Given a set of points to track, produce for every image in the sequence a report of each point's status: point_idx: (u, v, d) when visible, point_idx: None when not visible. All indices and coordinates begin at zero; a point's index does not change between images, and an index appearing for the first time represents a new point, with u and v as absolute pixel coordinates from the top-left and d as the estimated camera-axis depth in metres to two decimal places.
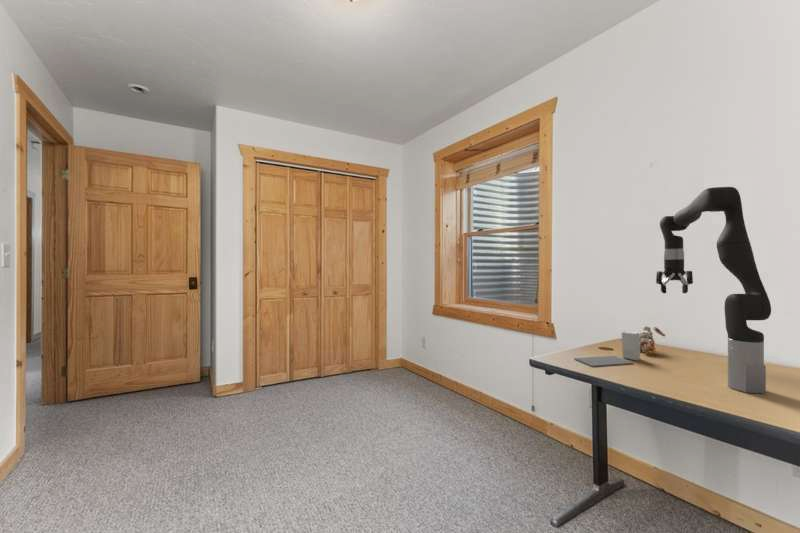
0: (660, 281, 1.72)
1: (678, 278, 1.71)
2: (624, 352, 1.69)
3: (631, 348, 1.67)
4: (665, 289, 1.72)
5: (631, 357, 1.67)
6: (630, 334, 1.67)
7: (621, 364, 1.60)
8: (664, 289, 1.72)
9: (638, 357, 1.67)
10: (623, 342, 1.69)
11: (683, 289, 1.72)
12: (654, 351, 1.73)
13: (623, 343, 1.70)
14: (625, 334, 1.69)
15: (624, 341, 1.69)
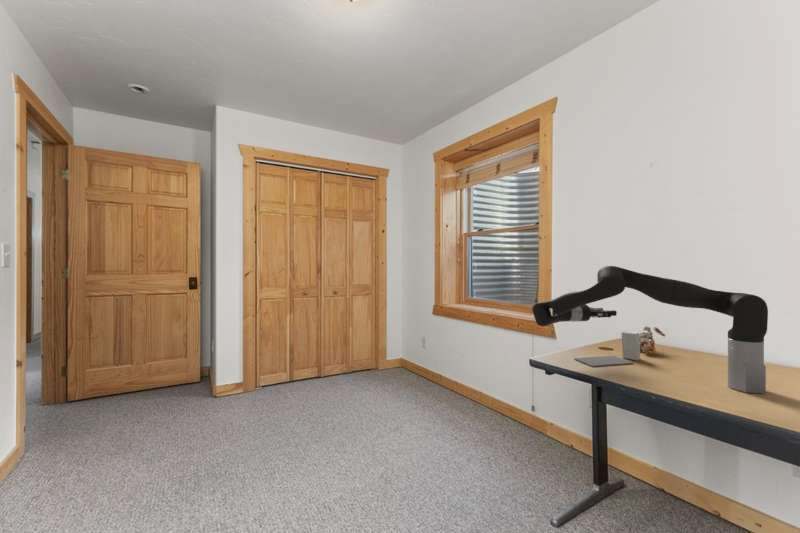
0: (607, 311, 1.60)
1: None
2: (624, 352, 1.69)
3: (631, 348, 1.67)
4: None
5: (631, 357, 1.67)
6: (630, 334, 1.67)
7: (621, 364, 1.60)
8: None
9: (638, 357, 1.67)
10: (623, 342, 1.69)
11: None
12: (654, 351, 1.73)
13: (623, 343, 1.70)
14: (625, 334, 1.69)
15: (624, 341, 1.69)
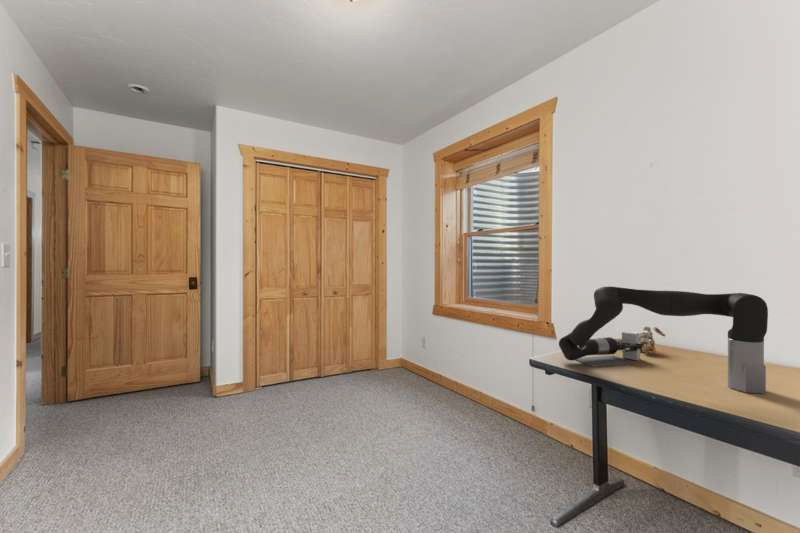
0: (634, 345, 1.63)
1: None
2: (624, 352, 1.69)
3: None
4: None
5: (631, 357, 1.67)
6: (630, 334, 1.67)
7: (621, 364, 1.60)
8: (638, 344, 1.65)
9: (638, 357, 1.67)
10: None
11: None
12: (654, 351, 1.73)
13: None
14: (625, 334, 1.69)
15: (624, 341, 1.69)
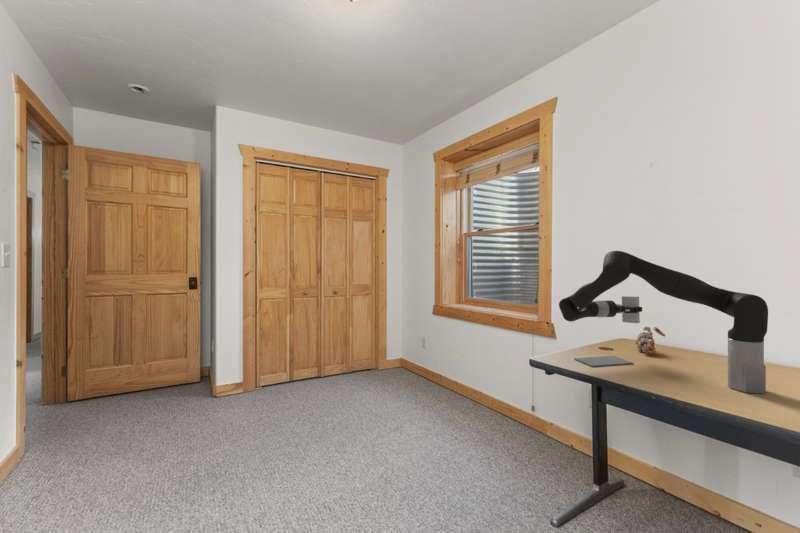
0: (634, 307, 1.62)
1: None
2: (624, 316, 1.69)
3: None
4: None
5: (631, 320, 1.67)
6: (630, 297, 1.67)
7: (621, 364, 1.60)
8: (638, 307, 1.65)
9: (638, 320, 1.66)
10: None
11: None
12: (654, 351, 1.73)
13: None
14: (625, 298, 1.68)
15: None
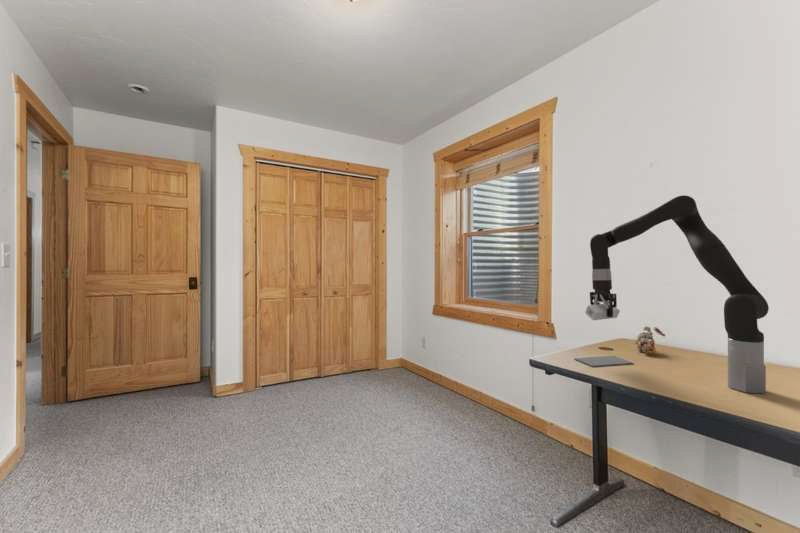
0: None
1: None
2: (594, 305, 1.64)
3: (603, 309, 1.62)
4: None
5: (594, 309, 1.61)
6: (615, 307, 1.63)
7: (621, 364, 1.60)
8: None
9: (596, 316, 1.61)
10: (603, 304, 1.65)
11: None
12: (654, 351, 1.73)
13: (602, 304, 1.65)
14: None
15: (604, 304, 1.65)
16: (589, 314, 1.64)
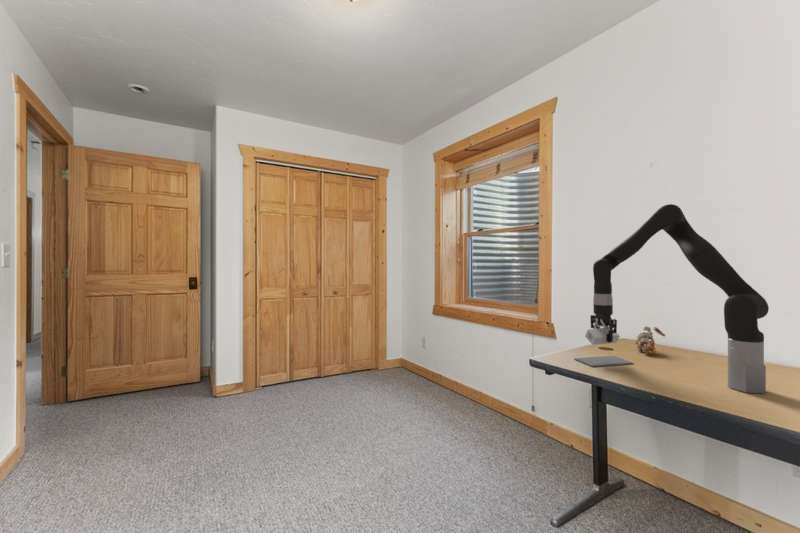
0: None
1: None
2: (594, 330, 1.65)
3: (603, 333, 1.63)
4: None
5: (594, 334, 1.62)
6: None
7: (621, 364, 1.60)
8: None
9: (596, 341, 1.61)
10: (603, 328, 1.66)
11: None
12: (654, 351, 1.73)
13: (602, 328, 1.66)
14: None
15: (604, 329, 1.66)
16: (589, 338, 1.64)
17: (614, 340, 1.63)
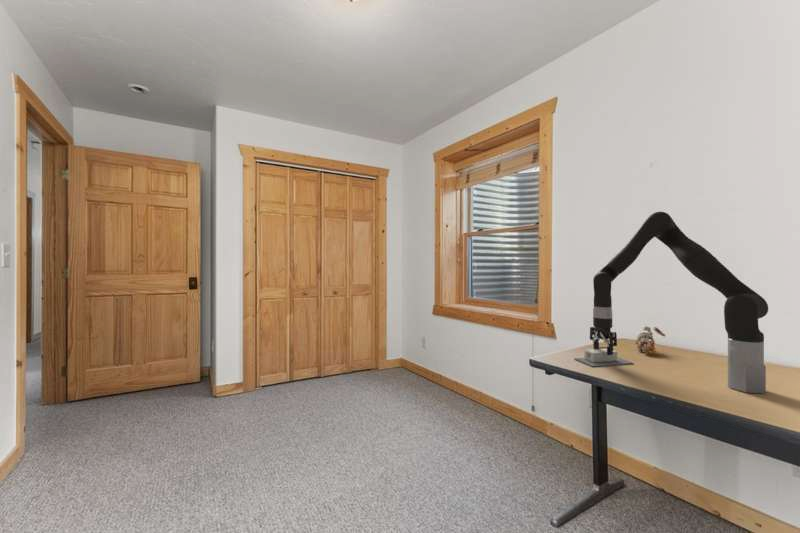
0: None
1: None
2: (591, 349, 1.67)
3: (600, 351, 1.65)
4: None
5: (592, 351, 1.64)
6: None
7: (621, 364, 1.60)
8: None
9: (595, 357, 1.62)
10: (600, 349, 1.68)
11: (596, 346, 1.69)
12: (654, 351, 1.73)
13: (599, 349, 1.68)
14: None
15: (601, 349, 1.68)
16: (588, 357, 1.65)
17: (613, 357, 1.64)
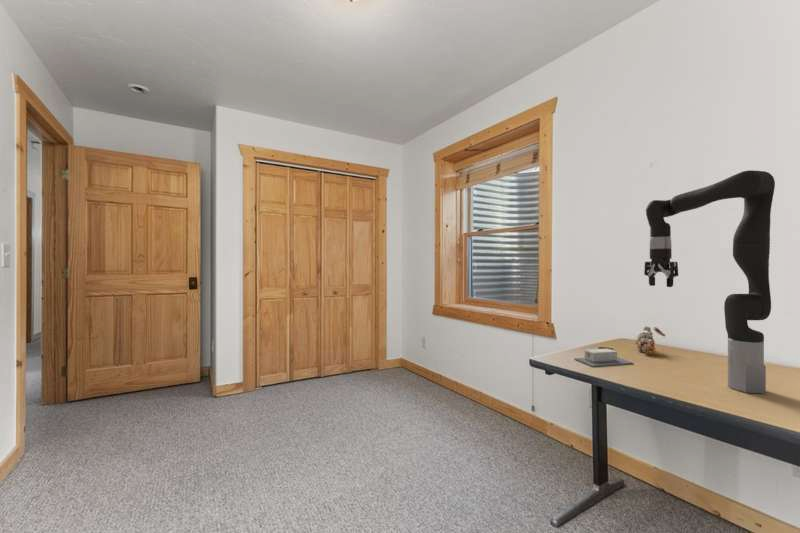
0: None
1: None
2: (591, 349, 1.67)
3: (600, 351, 1.65)
4: None
5: (592, 351, 1.64)
6: (612, 350, 1.66)
7: (621, 364, 1.60)
8: (672, 282, 1.51)
9: (595, 357, 1.62)
10: (600, 349, 1.68)
11: (652, 281, 1.59)
12: (654, 351, 1.73)
13: (599, 349, 1.68)
14: (609, 349, 1.68)
15: (601, 349, 1.68)
16: (588, 357, 1.65)
17: (613, 357, 1.64)
